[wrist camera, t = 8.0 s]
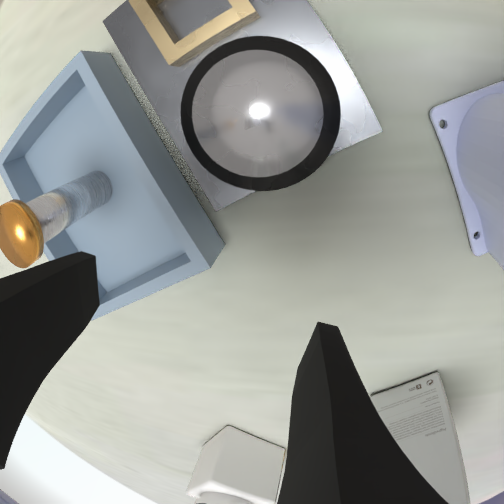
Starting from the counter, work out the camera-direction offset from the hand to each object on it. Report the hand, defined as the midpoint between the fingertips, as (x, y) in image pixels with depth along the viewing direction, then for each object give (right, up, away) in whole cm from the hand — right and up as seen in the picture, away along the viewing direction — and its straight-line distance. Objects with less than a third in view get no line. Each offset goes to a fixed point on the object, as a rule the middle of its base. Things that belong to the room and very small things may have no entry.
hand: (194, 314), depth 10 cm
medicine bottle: (+1, -20, +22) cm, 29 cm away
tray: (-8, +6, +11) cm, 15 cm away
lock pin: (-9, +6, +10) cm, 14 cm away
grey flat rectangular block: (+1, +12, +6) cm, 13 cm away
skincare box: (+16, -12, +14) cm, 25 cm away
